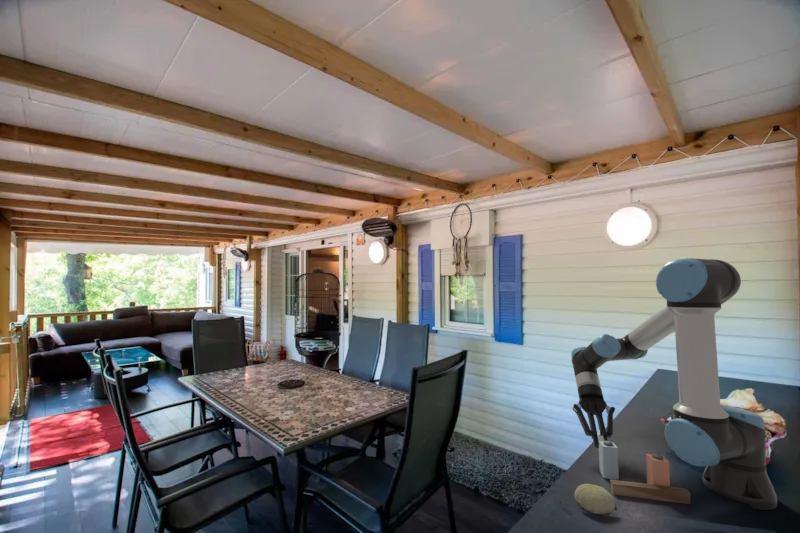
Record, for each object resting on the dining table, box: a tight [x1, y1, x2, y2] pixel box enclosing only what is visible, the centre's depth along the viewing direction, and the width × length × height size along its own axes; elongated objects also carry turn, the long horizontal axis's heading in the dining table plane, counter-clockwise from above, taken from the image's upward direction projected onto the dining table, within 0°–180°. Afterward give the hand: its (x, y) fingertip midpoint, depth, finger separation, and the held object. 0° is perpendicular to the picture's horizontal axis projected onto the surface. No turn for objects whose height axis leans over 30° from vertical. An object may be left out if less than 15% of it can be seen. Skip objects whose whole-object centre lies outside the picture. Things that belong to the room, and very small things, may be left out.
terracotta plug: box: [645, 453, 671, 487], centre depth 100 cm, size 4×4×10 cm
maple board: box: [609, 479, 691, 505], centre depth 104 cm, size 16×18×4 cm
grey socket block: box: [598, 440, 620, 481], centre depth 109 cm, size 4×4×10 cm
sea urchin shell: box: [574, 483, 616, 515], centre depth 96 cm, size 9×8×8 cm
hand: (604, 459), depth 112 cm, fingers closed
